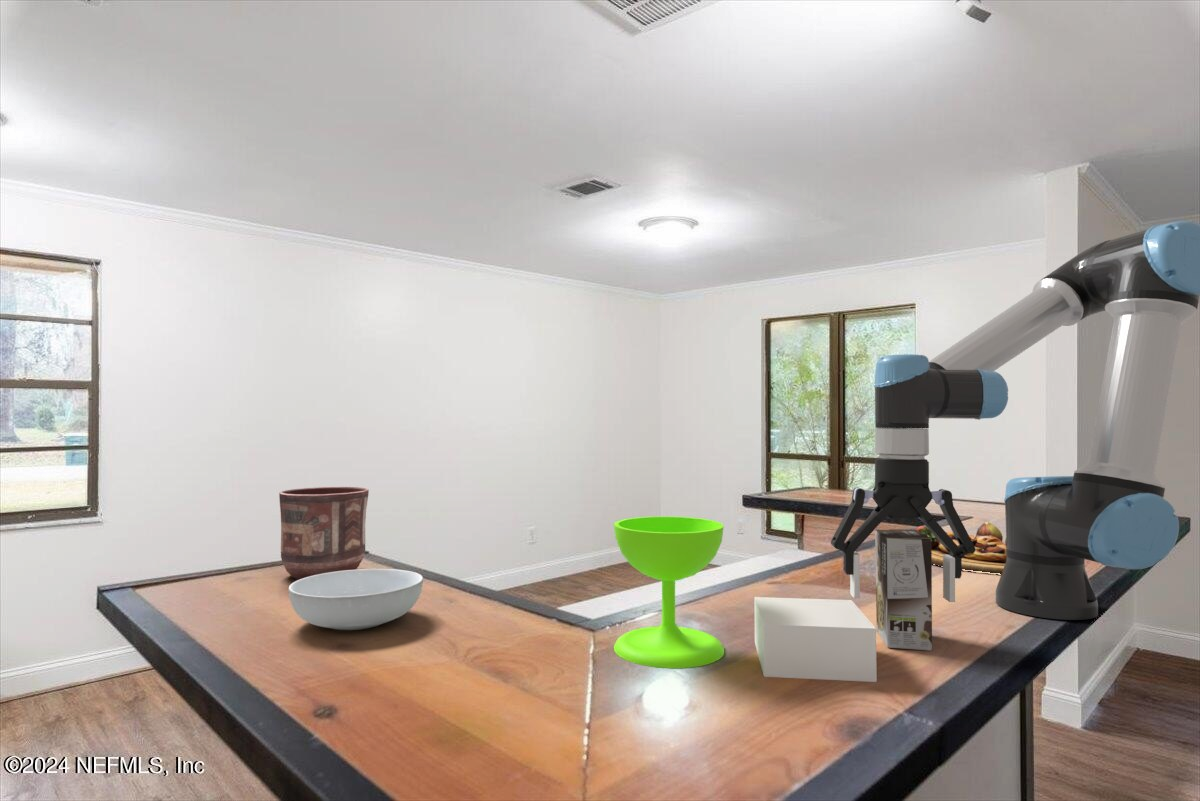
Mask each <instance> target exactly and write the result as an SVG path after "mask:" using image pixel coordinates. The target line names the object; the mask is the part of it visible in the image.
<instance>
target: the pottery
mask: <svg viewBox="0 0 1200 801" xmlns="http://www.w3.org/2000/svg"><path fill="white" fill-rule="evenodd" d="M369 491H370V490H369V488H365V487H360V486H355V487H354V486H317V487H303V488H295V489H293V488H292V489H287V490H283V491H281V492H280V491H279V496H278V498H279V508H280V510H279V511H280V559H281V562H282V564H283V567H284V569H285V570H286V573H288V574H289V575H290V576H291V577H292V578H294V580H296V581H297V580H300V579H303V578H306V577H309V576H313V575H318V574H323V573H330V572H336V571H345V570H357V569H358V568H359V567H360V565H361V563H362V561H363V559H364V557H365V552H366V518H367V516H366V515H367V506H368V499H369Z"/></svg>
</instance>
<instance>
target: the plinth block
mask: <svg viewBox="0 0 1200 801" xmlns="http://www.w3.org/2000/svg"><path fill="white" fill-rule="evenodd" d="M753 600H754V603H753V604H754V607H753V608H754V610H753V612H754V645H755V649H756V652H757V656H758V659H759V664H760V667H761V671H762V674H763V677H765V678H783V679H784V678H785V679H787V678H788V679H805V680H808V679H809V680H827V681H828V680H830V681H847V682H848V681H849V682H867V683H877V680H878V679H877V676H878V675H877V673H878V672H877V671H878V670H877V627H876V626H874V624H873V623H872V622H871V621H870V619H869V618H867V616H866V615H865V614H864V612H862V610H861V609H860V607H858V605H857V604H855V602H854V601H853V600H851V599H832V598H831V599H829V598H828V599H827V598H798V597H797V598H796V597H795V598H794V597H767V596H766V597H765V596H763V597H762V596H754V599H753Z"/></svg>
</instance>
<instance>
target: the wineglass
mask: <svg viewBox="0 0 1200 801" xmlns="http://www.w3.org/2000/svg"><path fill="white" fill-rule="evenodd" d="M724 527H725V526H724V524H723V523H722V522H720V521H716V520H712V519H707V518H701V517H698V518H697V517H690V516H688V517H687V516H667V515H666V516H660V515H659V516H640V517H630V518H625V519H620V520H616V521H615V522H614V523H613V530H614V536H615V540H616V543H617V545H618V548H619V550H620V551H621V554H622V555H623V556H624V558H625V560H627V562H628V563H629V565H630V566H632V567H633V568H634V569H635V570H637V571H638V572H640V573H641V574H643V575H645V576H647V577H650V578H653V579H655V580H659V581H661V624H660V625H659V626H657V625H656V626H646V627H641V628H636V629H633V630H630V631H627V632H625V633H623V634H622V635H621V636H619V637H618V638H617V639H616V641H615V643H614V645H613V650H614V653H615V654H616V655H617V656H619V658H622V659H623V660H625V661H627V662H630V663H634V664H637V665H641V666H646V667H651V668H662V669H690V668H696V667H702V666H706V665H709V664H710V665H711V664H712V663H715V662H717V661H720V659H722V658H723V656H724V655H725V648H724V646H723V644H722V643H721V642H720V640H719V639H718V638H717V637H715V636H713V635H712V634H711V633H707V632H705V631H702V630H700V629H699V630H698V629H695V628H690V627H684V626H683V627H682V626H678V625H677V623H676V581H681V580H684V579H686V578H689V577H693V576H695V575H696V574H697V573H699V572H701V571H702V570H703V569H705V568H706V567H707V566H708V565H710V563H711V562H712V561H713V559H714V558H715V557H716V556H717V553H718V551H719V548H720V546H721V544H722V541H723V535H724V534H723V533H724Z"/></svg>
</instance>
